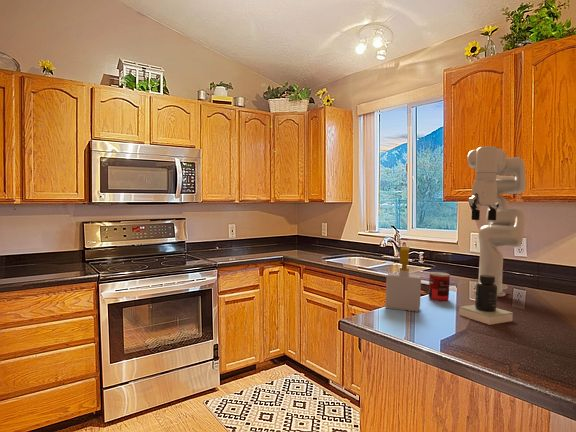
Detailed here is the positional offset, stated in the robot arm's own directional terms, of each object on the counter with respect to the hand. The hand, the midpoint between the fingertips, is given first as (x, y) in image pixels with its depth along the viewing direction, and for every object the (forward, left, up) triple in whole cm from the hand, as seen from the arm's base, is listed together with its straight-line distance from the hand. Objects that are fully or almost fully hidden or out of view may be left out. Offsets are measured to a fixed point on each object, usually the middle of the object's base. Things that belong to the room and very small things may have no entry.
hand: (483, 220), depth 154 cm
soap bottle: (+35, -6, -34) cm, 50 cm away
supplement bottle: (+15, +14, -32) cm, 38 cm away
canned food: (+10, -12, -34) cm, 38 cm away
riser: (+15, +14, -34) cm, 40 cm away
